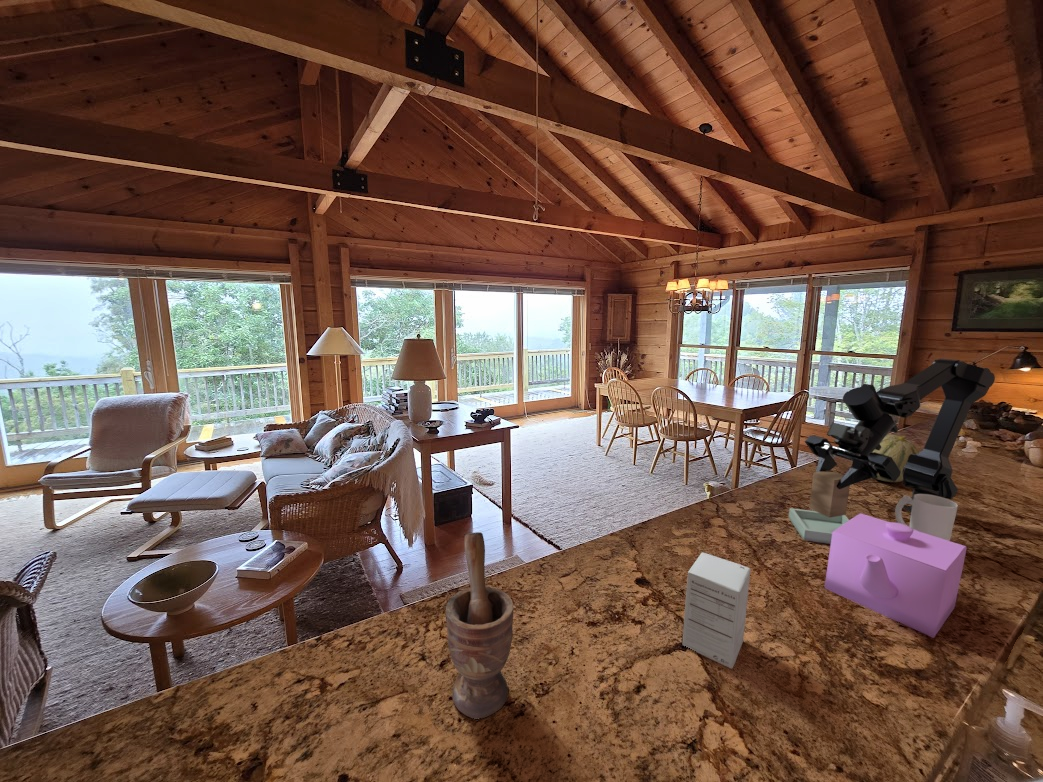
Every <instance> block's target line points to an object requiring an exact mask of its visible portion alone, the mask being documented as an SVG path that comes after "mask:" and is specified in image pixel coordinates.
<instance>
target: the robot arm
mask: <svg viewBox="0 0 1043 782" xmlns="http://www.w3.org/2000/svg"><path fill="white" fill-rule="evenodd" d="M991 371H992V370H991V369H989V368H988V367H982V366H977V365H973V364H970V363H968V362H965V361H962V360H960V359H952V358H951V359H950V358H949V359H948V358H938V359H935V360H933V362H932V363H931V365H929V366H928V367H926V368H924V369H923V370H921V371H920V372H918V373H916V374H915V375H914V376H912V377H911V378H909V379H907V380H906V381H905V382H903V383H899V384H895V385H894V384H893V385H888V386H886V387H883V388H881V389H879V390H877V389H876V387H875V386H874V384H868V383H863V384H862V385H861V386H859V387H855V388H852V389H849V391H845V393H844V394H843V396H842V401H843V403H844V404H845V406H846V407H847V409H848V410H849V412H850V413H851V415H852V416H853V418H854V419H855V420H857V421H858V422H857V424H856V425H855V426H849V425H846V424H841V423H837V422H833V421H832V422H831V425H830V427H829V429H828V431H827V433H826V436H828V437H831V438H834V442H835V444H836V445H838V446H835V445H832V444H831V442H830V441H829V439H828V438H826V437H822V436H819V435H815V434H813V435H812V434H811V435H809V436H808V437H807V438H806V440H804V443H805V444H806V445H807V447H808V448H809V450H810V451H811V452H812V454H813V455H814V456H816V457H818V462H817V466H816V470H815V472H820V471H827V470H831V471H832V469H833V468H835V467H836V466H837V465H838V463H837V462H836V461H835V458H836V457H839V458H843V459H845V460H849V461H852V463H851V466H850V467H849V469H848V470H847V471H846V472H845V474H843V475H844V476H843V477H842V479H841V480H840V481H839V483H838V484H837V488H838V489H842V488H845V487H847V486H850V487H851V486H852V485H854V484H857V483H860V482H864V481H867V480H871V479H875V480H878V479H877V478H878V476H877V474H878V473H879V475H880V477H881V478H884V479H887V480H890V481H893V482H892V483H895V482H894V481H896V480H897V478H898V477H899V476H900V469H899V468H898V466H897V465H896V463H895V462H894V460H893V458H892V457H889V456H886V455H882V454H879V453H875V452H874V453H872V452H873V451H874V450H875V449H876V450H880V449H881V448H882V447H881V445H880V442H881V441H882V440H883V439H884V438H885V436H886V435H887V434H890V432H891V433H898V431H899V428H898V425H897V420H895V419H894V418H893V416H894V417H899V418H905V419H907V418H908V417H909V418H910V417H911V416H912V415H913V414H914V413H916V411H918V410H919V409H920V407H921V401H922V400H923V399H924V398H925V397H927V396H928V395H930V394H931V393H933V392H934V391H936V390H937V389H939V388H940V387H941V389H942V393H943V394H944V400H943V401H942V405H941V407H940V409H939V411H938V414H937V416H936V418H935V421H934V423H933V426H932V427H931V430H930V432H929V434H928V437H927V439H926V442H925V443H924V446H923V448H922V450H920V451H919V453H917V454H911V455H910V456H909V457H908V461H907V463H906V465H905V466H904V469H903V481H902V483H903V486H904V487H907V488H910V489H912V495H911V498H912V499H913V498H914V495H915V494H929V495H934V496H939V497H942V498H946V499H949V500H953V499H954V498H955V496H956V494H957V492H958V487H957V485H956V484H955V482H954V481H953V479H952V474H953V468H952V465H951V462H950V459H949V457H950V455H951V453H952V451H953V448H954V446H955V443H956V441H957V439H958V437H959V434H960V431H961V429H962V427H963V425H964V422H965V420H966V417H967V415H968V413H969V411H970V409H971V406H972V404H974V403H976V402H977V401H978V400H980V399H982V398H984V397H985V396H986V395H987V393H988V391H990V388H991V387H992V386H993V385H994V383H995V380H996V376H995V374H994V373H993V372H991ZM903 509H905V510H906V511H908V512H909V513H910V514H911V510H912V505H911V504H909V505H907V504H905V505H904V506H903Z"/></svg>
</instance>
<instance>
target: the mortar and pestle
mask: <svg viewBox="0 0 1043 782" xmlns="http://www.w3.org/2000/svg"><path fill="white" fill-rule="evenodd" d="M463 543H464V553H465V559H466V566H467V572H468V577H469V586H470V587H467V588H464V589H462V590H460V591H458V592H457V593H455V594H454V595H453V596H452V597H450V598H449V600H448V602H447V603H446V606H445V615H446V631H447V632H446V633H447V636H446V637H447V645H448V650H449V656H450V658H451V660H452V663H453V666H454V668H455V670H456V671H457V672H458V673H459V674H458V676H457V677H456V679H455V681H454V684H453V688H452V692H451V693H452V695H451V696H452V702H453V704H454V706H455V707H456V709H457V710H458V711H459V712H461V713H462V714H463V715H465V716H466V717H469V718H471V719H473V718H474V719H473V720H475V719H478V718H481V719H484V718H487V717H489V716H492V715H493V714H494V713H497V711H499V710H501V709H502V707H504V706H505V704H506V703H507V700H508V698H507V696H509V689H508V688H509V687H508V683H507V680H506V678H505V676H504V675H503V674H502V670H503V668H505V665H506V664H507V661H508V658H509V654H510V652H511V649H512V648H511V647H512V642H513V635H514V634H513V632H514V631H513V629H514V628H513V622H514V603H513V600H512V599H511V597H510V595H508V593H507V592H505V591H502V590H501V589H499V588H496V587H491V586H490V587H489V586H486V578H485V576H486V575H485V569H486V568H485V562H486V559H485V558H486V547H485V545H486V544H485V539H484V533H482V532H480V531H479V532H470V533H466V534H465V535H464V541H463ZM505 702H506V703H505Z"/></svg>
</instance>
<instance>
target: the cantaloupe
mask: <svg viewBox="0 0 1043 782" xmlns="http://www.w3.org/2000/svg"><path fill="white" fill-rule="evenodd" d="M907 438H908V437H907V435H902V436H900V435H896V434H890V433H888V434H887V435H886V436H885V438H884V439H883V440H882V441H881V442H880V445H881V447H882V448H881V449H880V450H876V449H875V450H874V451H873V452H872V453H874V452H875V453H879V454H882V455H886V456H889V457H892V458H893V460H894V462H895V463H896V465H897V466H898V468H899V469H900V476H899V477H898V478H897V480H896V481H894V482H893V481H890V480H887V479H884V478H881V477H880V475H879V473H878V474H877V476H878V478H877V479H876V480H878V481H883V482H887V483H902V482H903V469H904V466H905V465H906V463H907V461H908V457H909V456H910V455H911V454H917V453H919V452H920V451H919V449H918V447H917V446H916V445H914V443H913V442H911V441H910V440H908V439H907Z"/></svg>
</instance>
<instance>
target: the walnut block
mask: <svg viewBox="0 0 1043 782" xmlns="http://www.w3.org/2000/svg"><path fill="white" fill-rule="evenodd" d="M812 475H813V476H812V484H811V490H810V498H809V506H808V508H809V510H811V511H816V512H818V513H820V514H822V515H825V516H827V517H829V518H830V517H836V516H842V515H845V516H846V515H847V509H848V501H849V495H850V488H851V485H850V486H847V487H845V488H842V489H838V488H837V484H838V483H839V481H840V480H841V479H842V477H843V476H844V475H845V474H841V473H839V472H836V471H833V470H832V469H831V470H827V471H820V472H816V471H814V472H813V474H812Z"/></svg>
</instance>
